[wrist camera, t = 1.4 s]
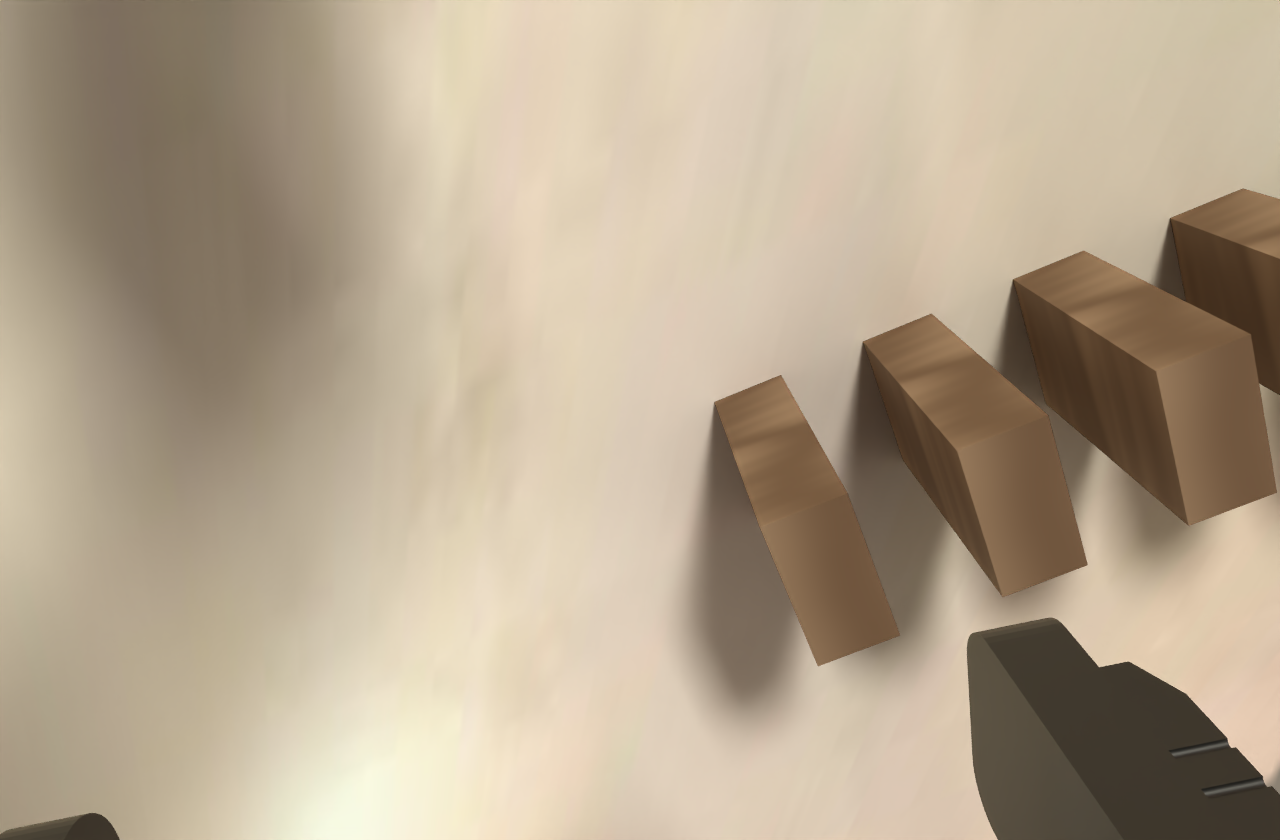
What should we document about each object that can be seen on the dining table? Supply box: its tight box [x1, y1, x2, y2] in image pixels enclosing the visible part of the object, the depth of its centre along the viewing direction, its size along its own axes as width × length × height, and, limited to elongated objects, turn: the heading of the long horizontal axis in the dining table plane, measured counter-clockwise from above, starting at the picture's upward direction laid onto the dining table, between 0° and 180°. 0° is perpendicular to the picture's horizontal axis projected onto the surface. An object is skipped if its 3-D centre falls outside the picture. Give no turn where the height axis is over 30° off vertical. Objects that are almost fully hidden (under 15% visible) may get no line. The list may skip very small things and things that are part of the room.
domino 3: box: [1013, 251, 1277, 526], centre depth 31 cm, size 2×5×9 cm, turn 22°
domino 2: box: [863, 314, 1088, 597], centre depth 31 cm, size 2×5×9 cm, turn 22°
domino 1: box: [715, 375, 900, 666], centre depth 32 cm, size 2×5×9 cm, turn 22°
